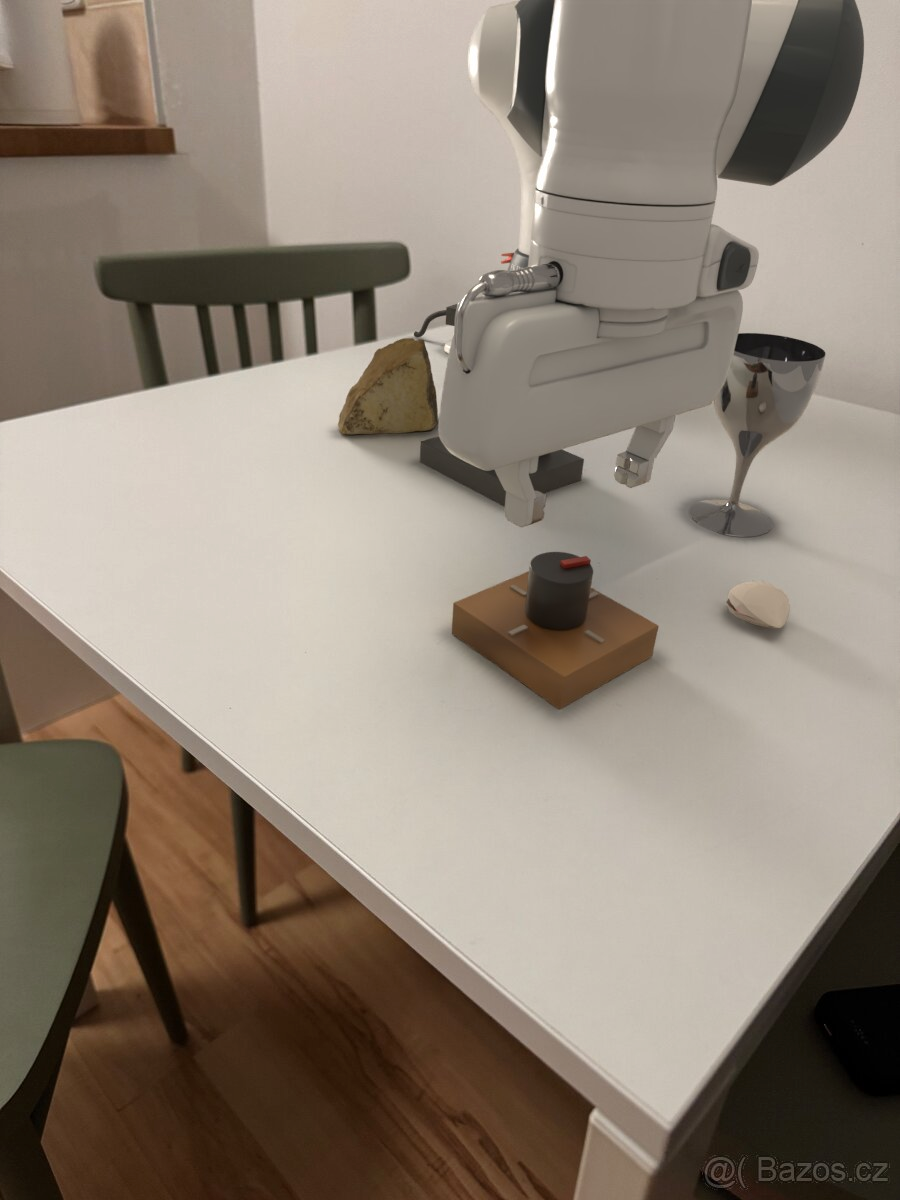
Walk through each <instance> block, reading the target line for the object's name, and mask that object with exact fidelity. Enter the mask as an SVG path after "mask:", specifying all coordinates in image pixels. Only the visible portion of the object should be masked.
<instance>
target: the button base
mask: <svg viewBox="0 0 900 1200" xmlns="http://www.w3.org/2000/svg"><path fill="white" fill-rule="evenodd" d="M419 444H420V447H419V450H420V451H419V463H420V464H423V465H425V466H427V467H428V468H430V469H432V470H434V471H436V472H438V473H440V474H442V475H444V476H446V477H448V478H449V479H451V480H453V481H455V482H457V483H459V484H460V485H462V486H465V487H467V488H468V489H470V490H472V491H474V492H476V493H478V494H479V495H482V496H483V497H485V498H488V499H489V500H491V501H493V502H495V503H497V504H499V505H500V506H503V507H504V508H505V498H506V491H505V490H504V488H503V486H502V484H501V482H500V480H499V478H498V476H497V474H496V472H495V470H489V471H486V470H482V469H480V468H477V467H475V466H473V465H471V464H469V463H467V462H465V461H463V460H461V459H459V458H458V457H456V456H454V455H453V454H451V453H450V452H449V451H448V450H447V448H446V447H445V446H444V444H443V443H442V441H441V440H440V437H439V435H438V436H435V437H431V438H427V439H424V440H420V443H419ZM584 463H585V459H584V458H583V457H582V456H581V457H580V456H578V455H576V454H574V453H571V452H570V451H566V449H565V450H564V449H561V450H558V451H555V452H551V453H548V454H544V455H541V456H539V458H538V467H537V471H536V472H535V473H532V474H530V473H529V477H530V480H531V483H532V486H533V489H534V490H535V491H539V492H541V493H543V494H546V493H549V492H552V491H554V490H558V489H561V488H563V487H567V486H569V485H571V484H574V483H577V482H580V481H582V477H583V469H584Z"/></svg>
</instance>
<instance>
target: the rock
mask: <svg viewBox="0 0 900 1200" xmlns="http://www.w3.org/2000/svg"><path fill="white" fill-rule="evenodd" d="M438 423H439V411H438V399H437V390H436V386H435V382H434V377H433V372H432V364H431V360H430V357H429V352H428V350H427V347H426V342H425V340H424V339H422V338H421V339H415V338H413V337H411V338H409V337H404V338H399V339H397V340H395V341H394V342H392V343H389V344H387V345H386V346H383V347H381V348H378V349H376V351H375V352H374V354H373V357H372V359H371V360H370V363H368V365H367V367H366V368H365V369H364V371H363V372H362V375H361V376H360V377H359V378H358V381H357V382H356V383H355V384H354V385H352V387H351V388H349V391H348V393H347V395H346V397H345V402H344V404H343V407H342V409H341V411H340V413H339V415H338V422H337V427H338V429H339V432H340V434H341V435H377V434H406V433H413V432H425V431H431V430H433V429H434V428H435V427H436V426H437V425H438Z"/></svg>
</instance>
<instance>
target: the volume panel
mask: <svg viewBox="0 0 900 1200" xmlns="http://www.w3.org/2000/svg"><path fill="white" fill-rule="evenodd" d="M528 576H529V570H528V571H526V572H524V573H521V574H518V575H517V576H514V577H511V578H509V579H507V580H504V581H502V582H500V583H497V584H495V585H492V586H489V587H487V588H485V589H482V590H480V591H478V592H475V593H473V594H471V595H469V596H467V597H464V598H461V599H458V600H456V601H454V602H453V603H452V604H453V605H452V619H451V620H452V621H451V634H452V635H453V636H454V637H456V638H457V639H459V640H460V641H461V642H463V643H464V644H465V645H467V646H468V647H470V648H471V649H473V650H474V651H476V652H477V653H479V655H481V656H483V657H484V658H486V659H487V660H488V661H490V662H491V663H493V664H494V665H496V666H497V667H498V668H500V669H501V670H503V671H504V672H505V673H507V674H508V675H510V676H511V677H513V678H514V679H516V680H517V681H518V682H520V683H521V684H522V685H524V686H525V687H527V688H528V689H530V690H531V691H532V692H534V693H535V694H537V695H539V697H541V698H542V699H544V700H545V701H547V702H548V703H549V704H550V705H552V706H554V707H555V708H556V709H558V710H561V709H563V708H564V707H566V706H568V705H569V704H572V703H573V702H575V701H576V700H578V699H580V698H582V697H584V696H585V695H587V694H589V693H591V692H592V691H595V690H596V689H598V688H599V687H601V686H603V685H605V684H606V683H608V682H610V681H612V680H613V679H615V678H618V677H619V676H621V675H622V674H624V673H626V672H628V671H629V670H631V669H632V668H635V667H636V666H639V665H640V664H642V663H643V662H645V661H647V660H648V659H651V658H652V657H653V654H654V649H655V645H656V640H657V636H658V631H659V625H658V624H657V623H655V622H653V621H652V620H650V619H648V618H646V617H644V616H642V615H641V614H639V613H637V612H635V611H634V610H632V609H630V608H628V607H627V606H625V605H623V604H621V603H619V602H618V601H616V600H614V599H613V598H610V597H609V596H608V595H605V594H603V593H601V592H600V591H598V590H596V589H595V588H592V587H591V589H590V595H589V602H588V608H587V614H586V619H585V621H584V622H583V623H582V624H581V625H580V626H578V627H576V628H573V629H568V630H553V629H547V628H544V627H541V626H539V625H536V624H535V623H533V622H532V621H530V620H529V619H528V617H527V616H526V614H525V602H526V593H527V585H528Z"/></svg>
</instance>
